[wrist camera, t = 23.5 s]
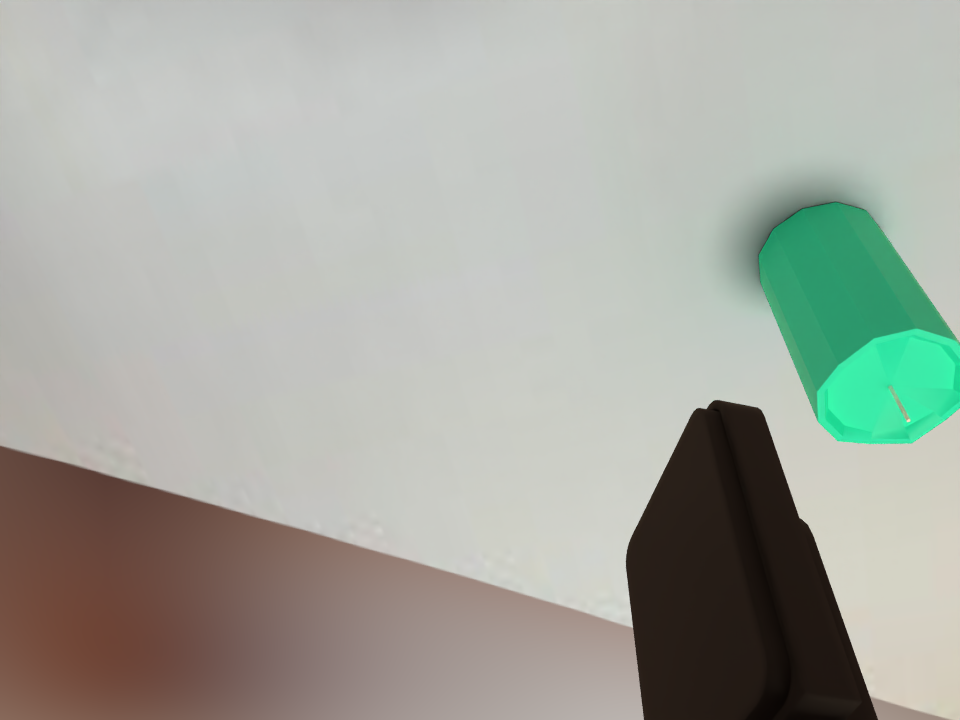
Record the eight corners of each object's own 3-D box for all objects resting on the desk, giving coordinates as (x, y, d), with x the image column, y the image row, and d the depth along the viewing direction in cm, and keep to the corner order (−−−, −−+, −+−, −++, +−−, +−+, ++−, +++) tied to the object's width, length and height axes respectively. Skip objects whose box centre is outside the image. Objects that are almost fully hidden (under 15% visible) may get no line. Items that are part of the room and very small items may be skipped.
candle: (731, 274, 42) (791, 438, 32) (818, 179, 38) (913, 331, 29) (821, 326, 43) (903, 496, 34) (911, 239, 40) (1031, 401, 31)
